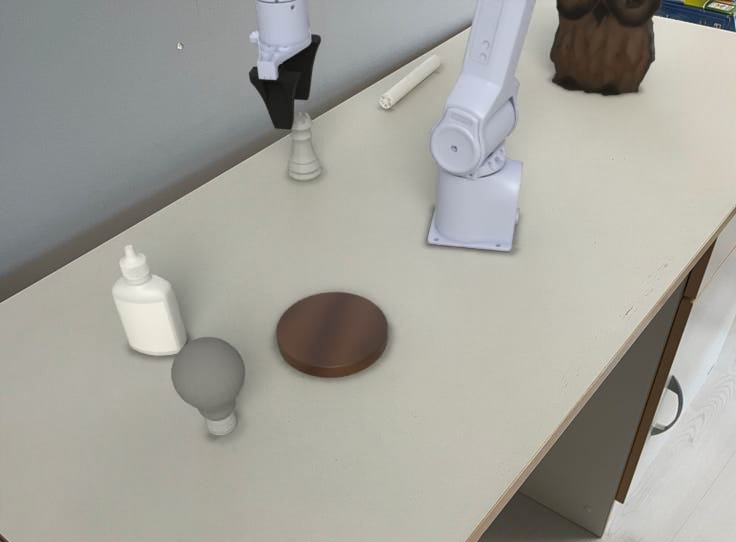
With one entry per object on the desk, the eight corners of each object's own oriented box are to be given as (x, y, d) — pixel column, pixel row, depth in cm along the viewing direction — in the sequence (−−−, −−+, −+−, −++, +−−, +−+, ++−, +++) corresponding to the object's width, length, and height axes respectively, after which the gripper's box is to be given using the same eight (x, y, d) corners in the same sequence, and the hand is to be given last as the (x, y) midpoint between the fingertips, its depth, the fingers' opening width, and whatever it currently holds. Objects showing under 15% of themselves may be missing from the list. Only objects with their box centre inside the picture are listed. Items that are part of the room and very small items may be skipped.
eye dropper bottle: (160, 369, 69) (128, 271, 61) (124, 345, 72) (89, 247, 64) (194, 344, 72) (168, 246, 63) (158, 321, 74) (128, 225, 66)
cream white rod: (434, 62, 117) (434, 47, 116) (445, 64, 116) (446, 50, 115) (379, 107, 107) (379, 92, 105) (391, 110, 106) (391, 95, 104)
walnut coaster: (396, 308, 74) (396, 297, 73) (376, 385, 67) (375, 374, 66) (294, 297, 76) (293, 286, 75) (264, 370, 69) (261, 359, 68)
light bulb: (191, 405, 66) (167, 324, 59) (256, 399, 66) (240, 318, 59) (186, 456, 62) (160, 377, 55) (255, 450, 62) (238, 370, 55)
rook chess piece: (317, 184, 92) (312, 126, 86) (284, 181, 93) (277, 123, 87) (325, 166, 95) (321, 109, 90) (293, 164, 96) (286, 107, 90)
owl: (649, 94, 106) (688, -56, 92) (570, 106, 104) (598, -45, 90) (608, 61, 115) (639, -81, 101) (535, 71, 113) (555, -72, 99)
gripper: (264, -29, 83) (277, 85, 93) (222, 17, 73) (242, 139, 83) (323, -27, 82) (330, 88, 92) (288, 20, 72) (300, 143, 82)
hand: (292, 112), depth 87 cm, fingers open, 7 cm apart
